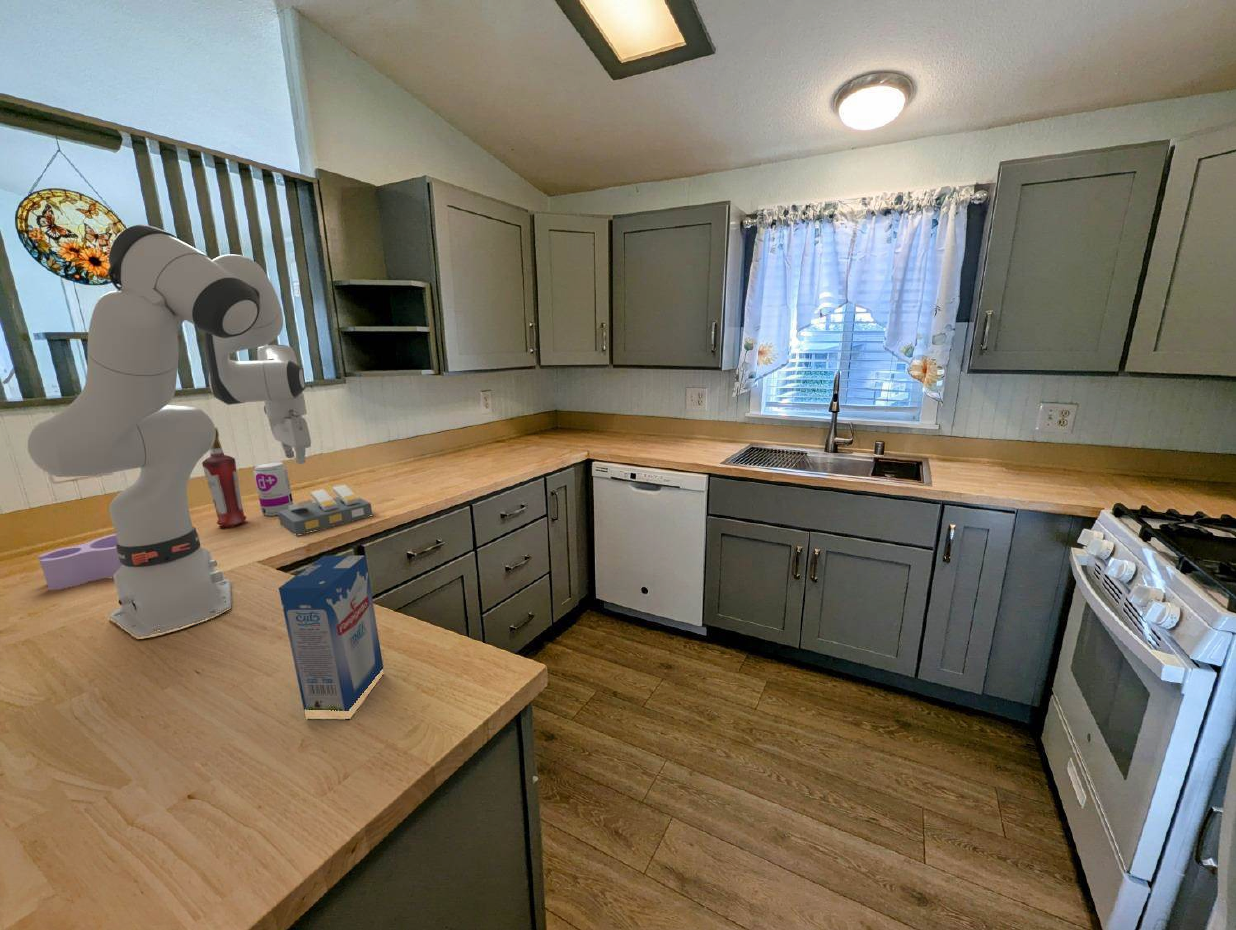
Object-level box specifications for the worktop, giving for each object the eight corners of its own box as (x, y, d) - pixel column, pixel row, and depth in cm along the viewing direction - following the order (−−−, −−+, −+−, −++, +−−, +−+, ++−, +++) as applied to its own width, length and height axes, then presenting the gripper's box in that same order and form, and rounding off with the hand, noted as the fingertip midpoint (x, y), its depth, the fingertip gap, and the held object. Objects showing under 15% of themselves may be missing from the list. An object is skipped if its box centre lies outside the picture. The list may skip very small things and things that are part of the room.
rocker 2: (337, 507, 145) (337, 503, 145) (324, 510, 143) (323, 506, 142) (323, 492, 151) (323, 488, 150) (310, 495, 149) (310, 491, 148)
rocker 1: (313, 504, 140) (311, 499, 140) (299, 507, 138) (297, 502, 138) (303, 506, 147) (301, 501, 147) (289, 509, 145) (288, 504, 145)
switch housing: (373, 516, 151) (370, 500, 149) (297, 536, 136) (293, 519, 135) (353, 506, 160) (351, 491, 159) (280, 524, 146) (277, 508, 144)
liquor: (212, 526, 146) (190, 429, 139) (242, 518, 151) (222, 425, 144) (222, 531, 142) (199, 431, 135) (252, 523, 147) (232, 427, 140)
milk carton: (345, 673, 80) (324, 555, 75) (384, 673, 79) (365, 554, 74) (305, 720, 70) (278, 588, 65) (350, 720, 70) (325, 587, 65)
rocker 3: (359, 502, 150) (359, 498, 149) (346, 505, 147) (346, 501, 147) (345, 488, 155) (344, 484, 155) (332, 490, 153) (332, 486, 152)
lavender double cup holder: (51, 596, 107) (41, 566, 105) (46, 580, 115) (36, 551, 113) (173, 563, 122) (166, 536, 120) (161, 550, 130) (155, 524, 128)
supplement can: (283, 516, 152) (273, 467, 149) (256, 516, 152) (245, 468, 149) (300, 507, 160) (291, 461, 156) (274, 507, 160) (264, 461, 157)
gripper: (312, 411, 128) (321, 464, 132) (288, 404, 142) (297, 452, 145) (284, 414, 124) (294, 469, 127) (261, 406, 137) (271, 456, 141)
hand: (295, 460), depth 136 cm, fingers open, 8 cm apart
